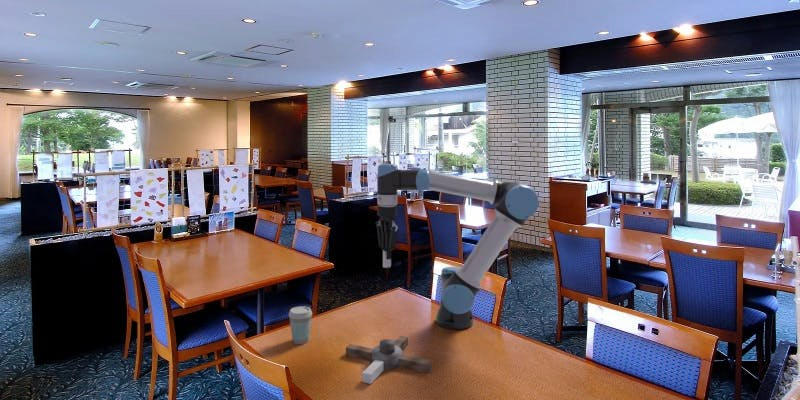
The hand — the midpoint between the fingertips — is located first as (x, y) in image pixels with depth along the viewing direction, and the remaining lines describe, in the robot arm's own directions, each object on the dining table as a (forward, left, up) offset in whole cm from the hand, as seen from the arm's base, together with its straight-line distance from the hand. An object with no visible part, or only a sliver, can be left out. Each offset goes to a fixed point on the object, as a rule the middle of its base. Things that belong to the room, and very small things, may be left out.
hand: (386, 266), depth 171 cm
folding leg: (+15, +29, -26) cm, 42 cm away
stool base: (+8, +22, -26) cm, 35 cm away
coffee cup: (+32, -5, -27) cm, 42 cm away
